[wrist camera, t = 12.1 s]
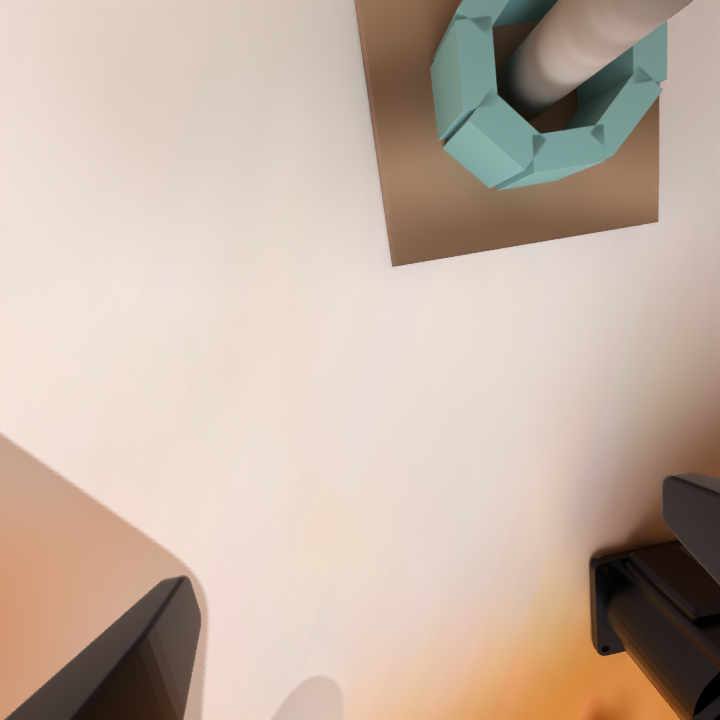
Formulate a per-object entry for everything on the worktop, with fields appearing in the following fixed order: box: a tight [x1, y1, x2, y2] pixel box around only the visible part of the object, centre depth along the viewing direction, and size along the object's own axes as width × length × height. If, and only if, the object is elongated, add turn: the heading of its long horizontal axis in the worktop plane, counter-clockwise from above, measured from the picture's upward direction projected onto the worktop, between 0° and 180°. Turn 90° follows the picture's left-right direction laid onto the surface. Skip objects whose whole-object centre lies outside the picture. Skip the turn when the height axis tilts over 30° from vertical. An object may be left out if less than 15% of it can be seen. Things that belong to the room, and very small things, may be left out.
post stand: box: [355, 0, 693, 267], centre depth 13 cm, size 12×12×8 cm
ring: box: [430, 0, 667, 191], centre depth 14 cm, size 7×7×3 cm
